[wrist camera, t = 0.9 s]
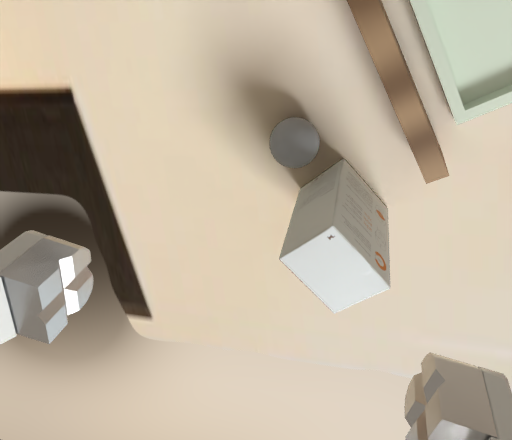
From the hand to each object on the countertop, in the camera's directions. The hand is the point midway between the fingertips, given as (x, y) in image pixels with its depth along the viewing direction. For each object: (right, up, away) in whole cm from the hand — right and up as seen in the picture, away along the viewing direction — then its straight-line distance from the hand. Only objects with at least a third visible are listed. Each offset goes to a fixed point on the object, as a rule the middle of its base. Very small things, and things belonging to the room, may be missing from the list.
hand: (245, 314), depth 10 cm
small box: (+10, +5, +37) cm, 38 cm away
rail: (+13, +16, +28) cm, 35 cm away
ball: (+4, +10, +32) cm, 34 cm away
